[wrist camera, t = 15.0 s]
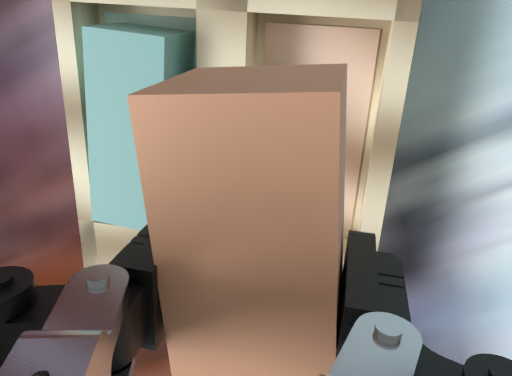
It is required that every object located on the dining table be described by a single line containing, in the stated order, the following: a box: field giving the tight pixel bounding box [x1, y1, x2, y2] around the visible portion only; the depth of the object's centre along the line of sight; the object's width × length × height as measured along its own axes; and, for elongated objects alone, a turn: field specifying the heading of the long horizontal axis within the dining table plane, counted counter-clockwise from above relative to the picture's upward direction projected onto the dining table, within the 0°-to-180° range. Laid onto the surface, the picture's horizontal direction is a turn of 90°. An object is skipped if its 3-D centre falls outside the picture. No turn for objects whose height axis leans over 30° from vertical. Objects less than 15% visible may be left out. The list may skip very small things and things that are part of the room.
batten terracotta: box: [127, 63, 347, 376], centre depth 12 cm, size 10×4×4 cm, turn 3°
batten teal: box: [82, 23, 195, 230], centre depth 24 cm, size 10×4×4 cm, turn 174°
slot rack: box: [52, 0, 423, 268], centre depth 24 cm, size 20×17×4 cm
